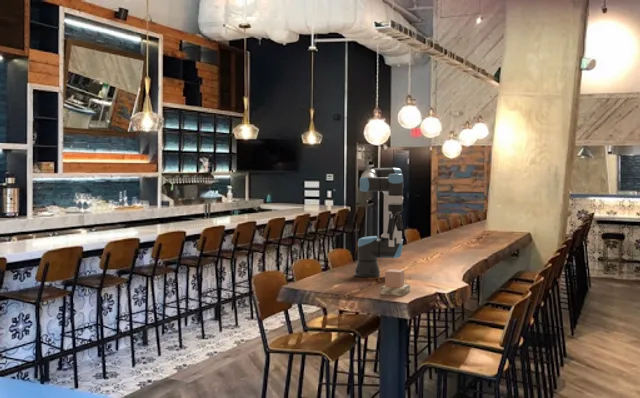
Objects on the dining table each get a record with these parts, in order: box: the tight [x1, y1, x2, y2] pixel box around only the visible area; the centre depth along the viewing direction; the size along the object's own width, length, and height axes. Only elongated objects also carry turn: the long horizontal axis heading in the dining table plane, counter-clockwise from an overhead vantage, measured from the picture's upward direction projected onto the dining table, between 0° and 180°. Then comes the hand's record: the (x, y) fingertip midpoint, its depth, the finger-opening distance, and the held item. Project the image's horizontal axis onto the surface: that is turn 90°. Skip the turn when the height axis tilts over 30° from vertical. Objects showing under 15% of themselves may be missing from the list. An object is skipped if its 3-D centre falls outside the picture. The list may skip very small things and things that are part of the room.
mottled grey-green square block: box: [380, 283, 411, 297], centre depth 324 cm, size 12×12×4 cm
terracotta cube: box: [384, 268, 405, 288], centre depth 323 cm, size 8×8×8 cm
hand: (395, 245), depth 323 cm, fingers open, 13 cm apart
